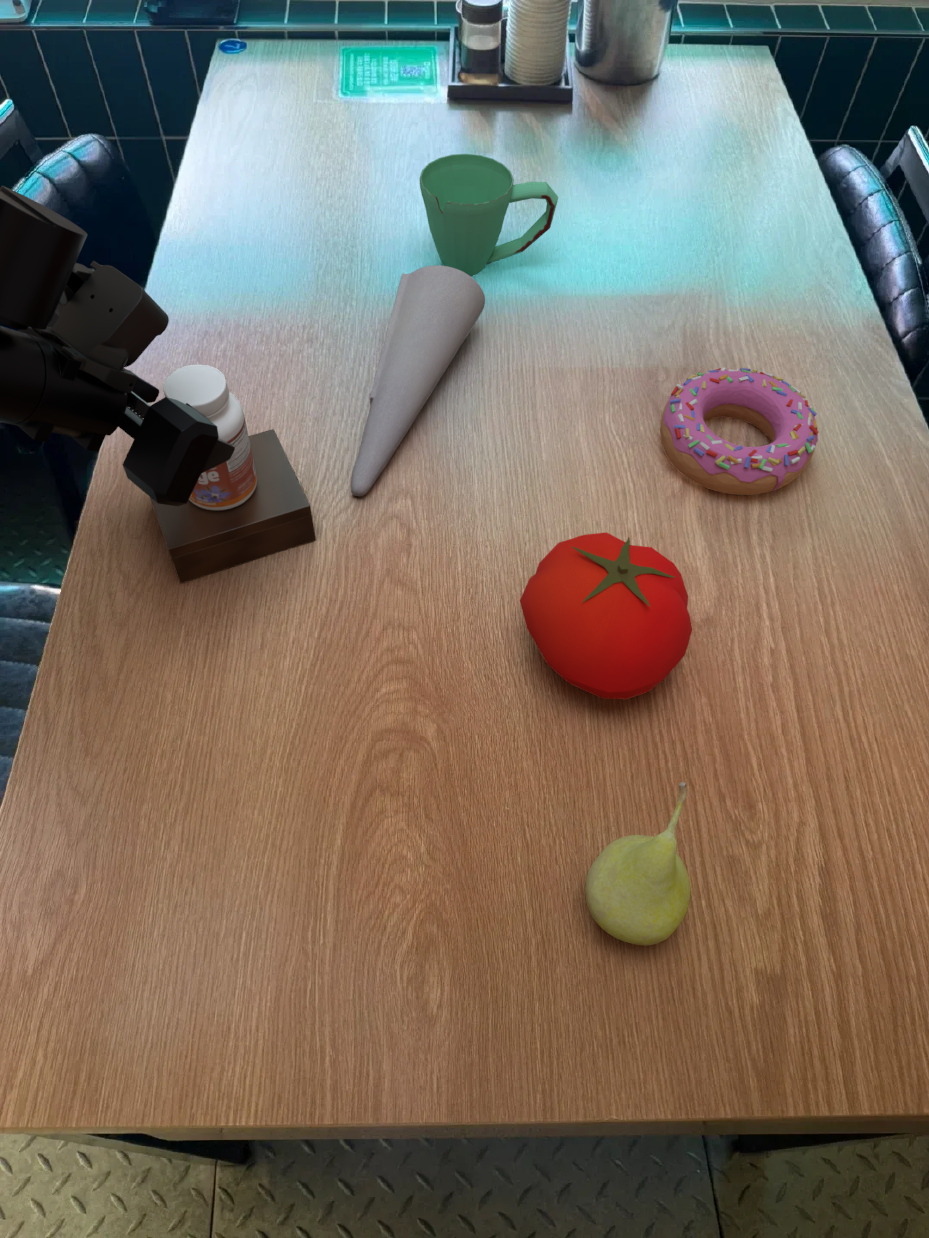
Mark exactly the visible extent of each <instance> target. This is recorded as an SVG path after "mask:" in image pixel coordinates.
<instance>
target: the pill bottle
mask: <svg viewBox="0 0 929 1238" xmlns="http://www.w3.org/2000/svg"><path fill="white" fill-rule="evenodd" d="M162 389H163V395H164V397H168V398H171V399H175V400H178V401H180V402H182V403H184V404H186V403H188V404H189V405H190V406H192V407H193V408H194V409H196V410H197V411H198V412H200V413H201V414H202V415H204V416H205V417H206V418H208V419H209V420H210V421H211V422H212V423H213V424H215V425H216V426H217V429H218V436H219V438H220V439H222V440H223V441H225V442H227V443H229V444H231V445H232V446H234V447H235V450H234V452H233V454H232V456H231V458H230V459H229V460H228V461H226V462H224V463H222V464H220V465H218V466H216V467H214V468H212V469H210V470H208V471H206V472H204V473H202V474H201V475H200V477H199V479H198V481H197V483H196V485H195V487H194V489H193V491H192V494H191V496H190V498H189V500H190V501H191V502H192V503H193V504H195V505H197V506H198V507H201V508H204V509H207V510H226V509H231V508H234V507H237V506H239V505H241V504H242V503H244V502H245V501H246V500H247V499H248V498H249V497H250V496H251V495H252V494H253V492H254V490H255V488H256V484H257V474H256V469H255V465H254V460H253V455H252V450H251V445H250V441H249V436H250V435H249V432H248V427H247V422H246V417H245V413H244V408H243V406H242V403H241V402H240V401H239V399H238V397H236V396H235V394H233V393H231V391H230V388H229V386H228V381H227V378H226V377H225V375H224V373H223V372H221V370H219V369H218V368H216V367H215V366H212V365H207V364H188V365H185V366H181V367H179V368H177V369H175V370H174V371H173V372H171V373H170V374H169V375H168V376H167V377H166V379H165V381H164V383H163V388H162Z"/></svg>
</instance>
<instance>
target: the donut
mask: <svg viewBox="0 0 929 1238" xmlns="http://www.w3.org/2000/svg"><path fill="white" fill-rule="evenodd" d="M817 415H818V413H816V410H815V409H814V408H813V407H810V405H809V401H808V400H807V399H806V395H804V394H802V391H800V390H799V389H798V388H796V387H795V386H792V384H790V383H788V382H787V381H785V380H784V378H783V377H781V376H775V375H773V374H771V373H768V372H766V371H760V372H758V369H756V368H754V369H751V368H746V367H740V368H739V369H727V367H724V366H723V367H720V368H716V369H711V370H707V372H704V373H703V372H700V371H698V372H697V373H696V374H695V373H694V374H692V375H690V376H687V378H686V380H685V381H683V383H681V384H679V383H677V384H675V386H674V388H673V390H672V391H671V393H670V396H669V398H668V400H667V402H666V404H665V406H664V408H663V411H662V413H661V419H660V424H659V425H660V427H659V435H660V441H661V445H662V448H663V452H664V453H665V455H666V457H667V458H668V461H669V462H670V463H671V465H673V467H674V468H675V469H676V470H677V471H678V472H679V473H680V474H681V475H683V476H684V477H685V478H687V479H688V480H690V481H691V482H694V483H695V484H697V485H699V486H701V487H703V488H706V489H708V490H711V491H714V492H718V493H722V494H729V495H736V496H752V495H762V494H766V493H770V492H775V491H776V490H778V489H781V488H783V487H784V486H786V485H788V484H790V483H791V482H793V481H794V480H795V479H796V478H798V477H799V476H800V475H801V474H802V473H803V472H804V471H805V469H806V468H807V467H808V465H809V464H810V463H811V461H812V459H813V456H814V453H815V450H816V446H817V443H818V442H819V439H818V437H819V431H818V425H817V420H816V418H815V417H816V416H817ZM715 418H730V419H736V420H740V421H743V422H746V423H749V424H750V425H753V426H754V427H756V428H757V429H759V430H760V431H761V432H763V433H764V434H765V435H766V436H767V438H768V439H769V440H770V443H769V444H765V445H762V446H743V445H739V444H735V443H732V442H729V441H727V440H725V439H723V438H721V436H720V437H719V436H718V435H717V434H715V433H714V432H713V431H712V430H711V429H710V428H709V426H708V425H707V424H706V422H705V421H707V420H710V419H715Z"/></svg>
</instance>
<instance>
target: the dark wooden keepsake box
mask: <svg viewBox="0 0 929 1238" xmlns="http://www.w3.org/2000/svg"><path fill="white" fill-rule="evenodd" d="M248 436H249V441H250V445H251V450H252V455H253V460H254V465H255V469H256V474H257V484H256V488H255V490H254V492H253V494H252V495H251V496H250V497H249V498H248V499H247V500H246V501H245V502H244V503H242V504H241V505H239V506H237V507H234V508H231V509H226V510H207V509H204V508H201V507H198V506H197V505H195V504H193V503H192V502H191V501H190V500H188V502H187V504H184V505H181V506H172V505H165V504H158V503H157V502H156V501H154V500H153V499H152V498H151V497H150V496H148V497H149V500H150V503H151V506H152V509H153V511H154V514H155V517H156V519H157V522H158V525H159V528H160V530H161V534H162V537H163V539H164V542H165V546H166V547H167V550H168V553H169V556H170V559H171V562H172V565H173V567H174V569H175V572H176V575H177V578H178V581H179V583H180V584H183V583H186V582H190V581H192V580H195V579H199V578H203V577H205V576H208V575H212V574H215V573H218V572H220V571H224V570H227V569H230V568H233V567H236V566H239V565H243V564H246V563H248V562H249V563H250V562H253V561H255V560H258V559H261V558H265V557H268V556H271V555H274V554H277V553H281V552H283V551H284V552H285V551H287V550H290V549H293V548H295V547H299V546H302V545H305V544H308V543H312V542H314V541H316V540H317V538H316V532H315V525H314V519H313V512H312V506H311V504H310V502H309V500H308V498H307V496H306V494H305V491H304V489H303V487H302V485H301V483H300V481H299V479H298V476H297V475H296V473H295V470H294V469H293V466H292V464H291V462H290V460H289V458H288V456H287V454H286V452H285V450H284V448H283V446H282V443H281V441H280V440H279V437H278V435H277V433H276V431H275V429H273V428H272V429H268V430H264V431H262V432H261V431H260V432H258V433H255V434H251V435H248Z"/></svg>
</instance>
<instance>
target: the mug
mask: <svg viewBox="0 0 929 1238" xmlns="http://www.w3.org/2000/svg"><path fill="white" fill-rule="evenodd" d="M514 180H515V179H514V177H513V173H512V171H511V170H510V169H509V168H508V167H507V166H506V165H505V164H503V163H502V162H500V161H498V160H497V159H494V158H492V157H489V156H485V155H481V154H476V153H475V154H473V153H455V154H448V155H445V156H441V157H438V158H436V159H434V160H432V161H430V162H429V163H427V165H425V166H424V167H423V168H422V170H421V172H420V176H419V190H420V193H421V198H422V201H423V204H424V209H425V213H426V218H427V223H428V227H429V228H428V229H429V232H430V234H431V237H432V240H433V243H434V246H435V247H434V248H435V250H436V252H437V254H438V257H439V258H440V261H441V263H442V266H448V267H452V268H455V269H458V270H460V271H462V272H464V273H466V274H468V275H469V276H471V277H473V276H476V275H478V274H479V273H482V272H483V271H484V270H485V268H486V266H487V265H489V264H493V263H496V262H498V261H501V260H504V259H507V258H509V257H512V256H515V255H518V254H521V253H523V252H524V251H526V250H527V249H528V248H529V247H530V246H531V245H533V243H535V242H536V241H537V240H538V239H540V238H541V237H542V236H543V235H544V234H545V233H546V232H548V231H549V230H550V229H551V226H552V223H553V219H554V216H555V213H556V209H557V205H558V201H559V196H558V194H557V193H556V192H555V190H554V189H553V188H552V187H551V186H550V185H549V183H548V182H547V181H529V182H523V183H516V184H514ZM531 199H535V200H545V202H546V207H545V211H544V212H543V213H542V215H540V217H539V218H538V219H537V220H536V221H535V222H534V223H533V224H532V226H530V227H529V228H528V229H527V230H526V232H524V234H522V236H521V237H518V238H516V239H513V240H510V241H507V242H504V243H501V244H499V245H497V243H498V240H499V238H500V235H501V233H502V229H503V225H504V221H505V218H506V217H505V216H506V214H507V211H508V208H509V205H510V204H512V203H517V202H521V201H525V200H531Z"/></svg>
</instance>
